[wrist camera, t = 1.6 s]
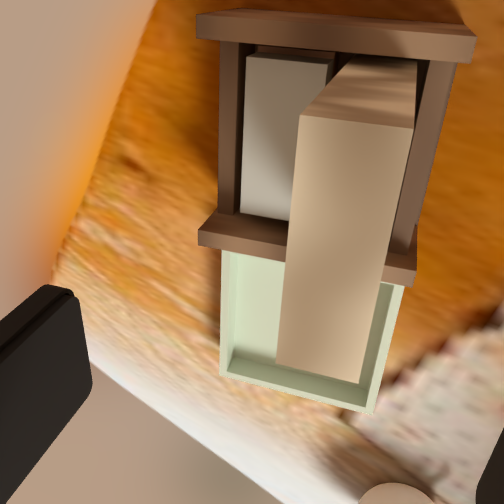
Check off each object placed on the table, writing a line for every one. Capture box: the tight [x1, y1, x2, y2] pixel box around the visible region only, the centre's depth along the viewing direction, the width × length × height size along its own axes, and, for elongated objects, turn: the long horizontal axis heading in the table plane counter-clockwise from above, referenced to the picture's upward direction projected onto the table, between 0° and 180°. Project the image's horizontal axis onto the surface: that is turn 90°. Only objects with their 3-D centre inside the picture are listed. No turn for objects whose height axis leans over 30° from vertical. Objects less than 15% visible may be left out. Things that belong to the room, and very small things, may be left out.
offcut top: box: [240, 52, 334, 221], centre depth 26 cm, size 4×8×2 cm, turn 177°
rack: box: [196, 8, 477, 287], centre depth 26 cm, size 12×12×6 cm
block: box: [276, 53, 418, 384], centre depth 21 cm, size 3×9×15 cm, turn 177°
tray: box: [219, 250, 405, 415], centre depth 35 cm, size 12×12×2 cm
